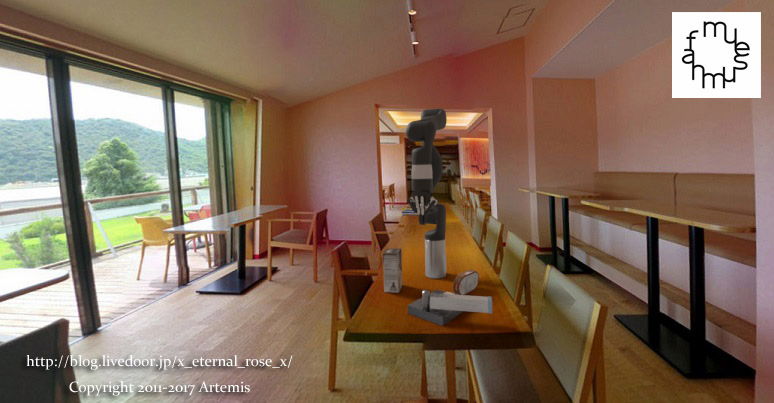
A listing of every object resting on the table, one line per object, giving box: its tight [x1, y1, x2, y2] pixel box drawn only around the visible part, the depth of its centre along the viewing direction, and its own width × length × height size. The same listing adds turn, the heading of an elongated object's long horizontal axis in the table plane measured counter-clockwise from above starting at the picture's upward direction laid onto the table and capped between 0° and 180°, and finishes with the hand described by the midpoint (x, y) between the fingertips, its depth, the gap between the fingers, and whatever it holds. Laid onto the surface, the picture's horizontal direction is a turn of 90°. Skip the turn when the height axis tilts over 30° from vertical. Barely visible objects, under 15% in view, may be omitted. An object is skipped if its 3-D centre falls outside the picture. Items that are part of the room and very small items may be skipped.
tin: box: [452, 269, 480, 295], centre depth 128 cm, size 15×3×8 cm, turn 133°
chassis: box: [407, 289, 464, 327], centre depth 112 cm, size 18×14×9 cm
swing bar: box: [430, 292, 493, 314], centre depth 104 cm, size 19×3×4 cm, turn 77°
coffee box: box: [382, 247, 403, 294], centre depth 134 cm, size 9×6×16 cm
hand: (422, 224), depth 118 cm, fingers closed
